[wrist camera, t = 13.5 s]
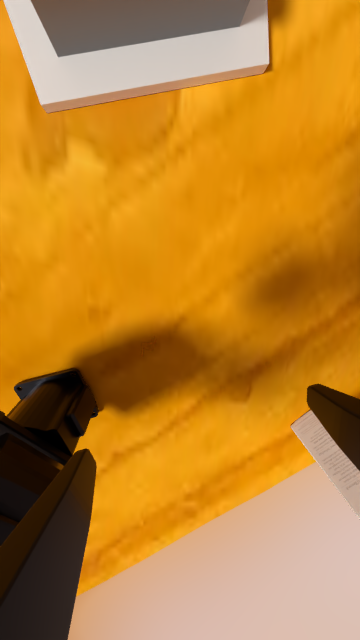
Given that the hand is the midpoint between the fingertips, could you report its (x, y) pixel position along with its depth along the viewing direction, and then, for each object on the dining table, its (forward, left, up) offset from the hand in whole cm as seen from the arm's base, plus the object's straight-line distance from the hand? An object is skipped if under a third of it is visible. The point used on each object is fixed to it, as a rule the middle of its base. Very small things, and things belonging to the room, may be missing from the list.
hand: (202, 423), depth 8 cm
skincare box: (+16, -22, -13) cm, 30 cm away
